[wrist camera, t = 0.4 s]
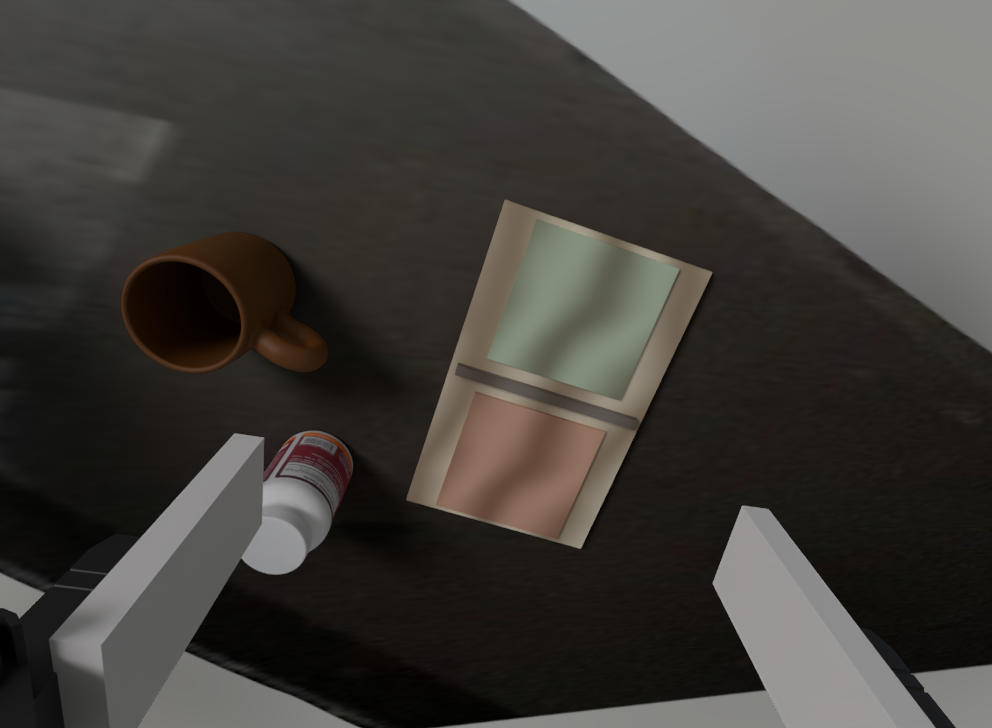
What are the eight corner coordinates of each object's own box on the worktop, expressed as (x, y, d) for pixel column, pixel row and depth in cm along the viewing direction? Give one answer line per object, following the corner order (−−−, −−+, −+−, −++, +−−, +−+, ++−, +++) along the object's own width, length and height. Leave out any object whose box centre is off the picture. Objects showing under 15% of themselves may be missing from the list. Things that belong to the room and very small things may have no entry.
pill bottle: (301, 500, 49) (249, 594, 39) (267, 440, 47) (204, 523, 36) (367, 479, 48) (332, 570, 38) (336, 418, 46) (291, 496, 36)
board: (407, 496, 49) (404, 504, 47) (505, 199, 40) (505, 200, 39) (579, 544, 51) (581, 554, 49) (709, 270, 42) (716, 274, 41)
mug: (370, 286, 42) (337, 322, 33) (333, 370, 45) (293, 425, 36) (213, 211, 40) (135, 228, 31) (183, 303, 43) (103, 343, 34)
